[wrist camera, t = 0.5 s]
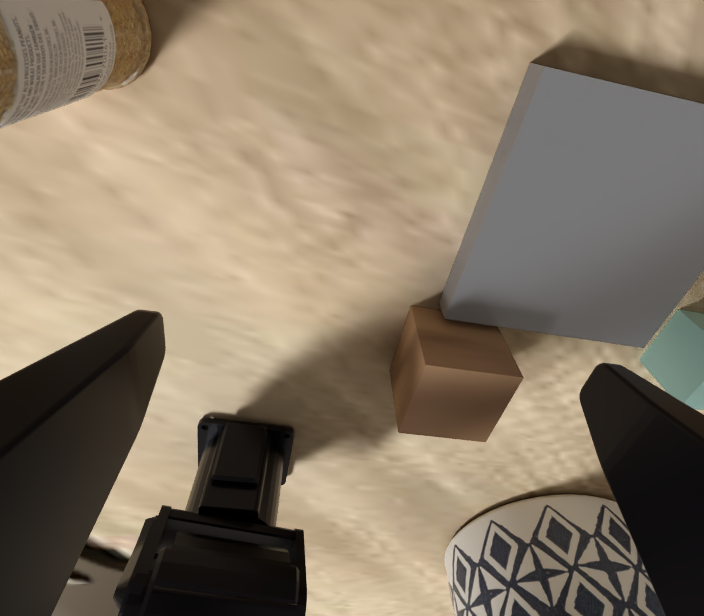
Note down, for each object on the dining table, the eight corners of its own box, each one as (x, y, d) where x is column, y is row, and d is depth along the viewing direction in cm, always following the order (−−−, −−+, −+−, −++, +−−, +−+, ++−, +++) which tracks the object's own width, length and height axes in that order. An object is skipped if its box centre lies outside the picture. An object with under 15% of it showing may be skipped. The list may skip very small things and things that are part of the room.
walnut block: (463, 378, 27) (485, 442, 23) (389, 368, 27) (398, 432, 23) (492, 317, 25) (523, 377, 21) (410, 304, 24) (425, 364, 20)
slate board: (628, 331, 25) (643, 348, 24) (439, 302, 24) (444, 318, 23) (780, 122, 19) (811, 129, 17) (530, 62, 17) (544, 66, 16)
